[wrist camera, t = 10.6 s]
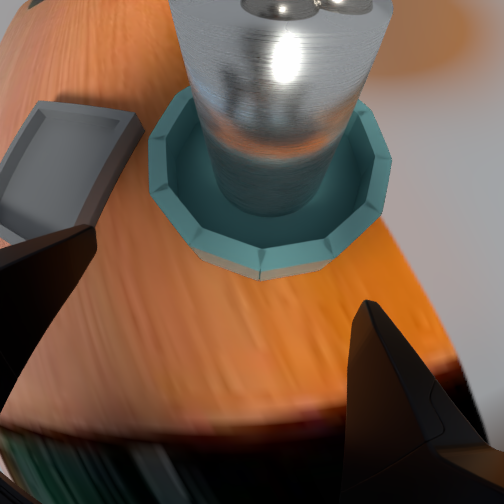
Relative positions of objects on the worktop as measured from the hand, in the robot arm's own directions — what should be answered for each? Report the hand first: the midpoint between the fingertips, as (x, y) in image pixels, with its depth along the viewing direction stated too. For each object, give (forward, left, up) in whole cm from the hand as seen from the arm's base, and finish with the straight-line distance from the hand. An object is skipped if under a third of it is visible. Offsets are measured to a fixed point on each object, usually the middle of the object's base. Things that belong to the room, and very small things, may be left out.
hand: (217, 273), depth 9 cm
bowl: (+8, +1, -8) cm, 11 cm away
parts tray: (+3, +16, -8) cm, 18 cm away
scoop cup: (+8, +1, -7) cm, 10 cm away
